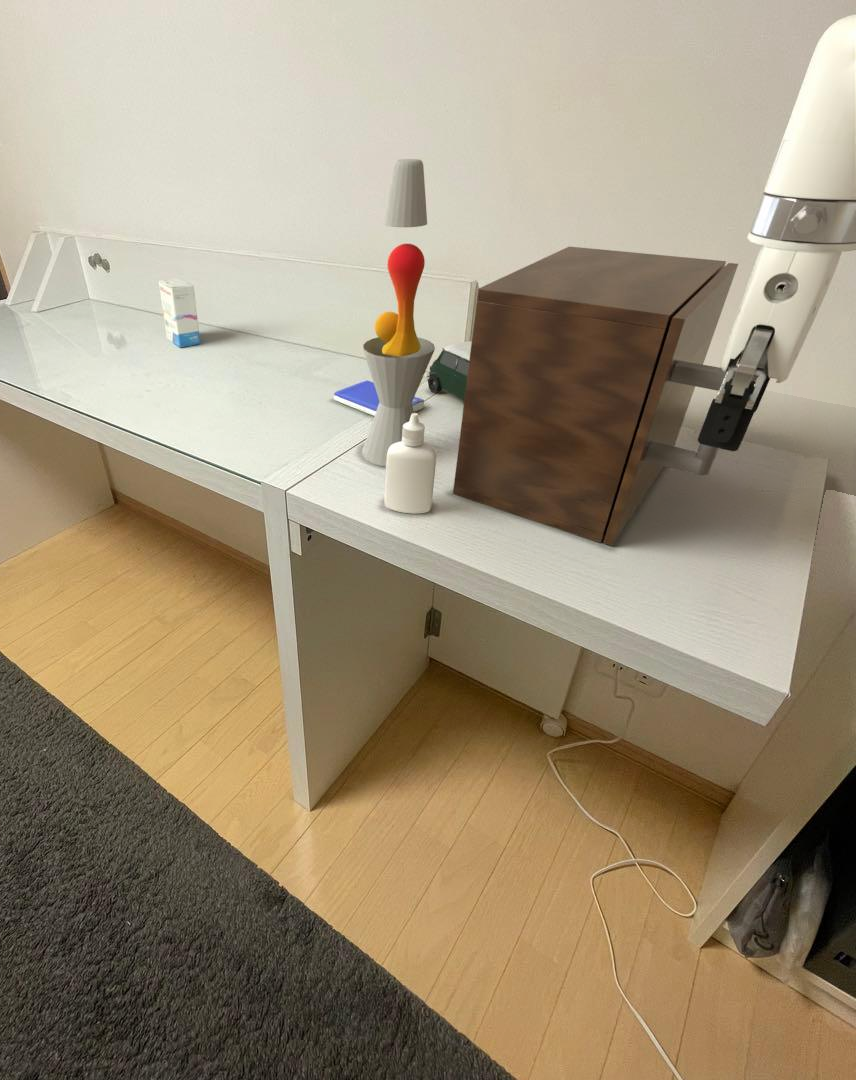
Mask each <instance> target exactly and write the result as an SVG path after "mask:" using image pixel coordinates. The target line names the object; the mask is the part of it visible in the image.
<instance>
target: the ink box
mask: <svg viewBox="0 0 856 1080" xmlns="http://www.w3.org/2000/svg"><path fill="white" fill-rule="evenodd" d="M158 287H159V293H160V300H161V308H162V314H163V315H162V316H163V322H164V328H165V335H166V336H165V337H166V339H168V340H169V341H170V342H172V343H173V344H174V345H175V346H177V347H178V348H185V347H190V346H197V345H200V344H201V337H200V328H199V327H200V326H199V319H198V311H197V301H196V293H195V287H194V285H193V284H191V283H189V282H188V281H185V280H184V279H181V278H172V279H169V278H168V279H161V280H158Z"/></svg>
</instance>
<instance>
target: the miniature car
mask: <svg viewBox="0 0 856 1080" xmlns="http://www.w3.org/2000/svg"><path fill="white" fill-rule="evenodd" d="M471 344H472V340H471V341H470V340H469V341H464V342H462V341H461V342H456V343H452V344H450V345H447V346H444V347H442V350H441V352H440V354H439V355H438V357H437V358H436V359H435V360H433V361H432V364H431V365H430V366H429V373H428V374H427V375H426V379H427V384H428V389H429V390H430V392H431V393H438V392H442V391H443V390H444V391H446V392H447V393H449V394H451V395H452V396H455V397H456V398H459V399H461V400H462V401H464V400H465V392H466V384H467V376H468V368H469V360H470V352H471Z"/></svg>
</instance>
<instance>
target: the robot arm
mask: <svg viewBox="0 0 856 1080" xmlns="http://www.w3.org/2000/svg"><path fill="white" fill-rule="evenodd" d="M789 117H790V118H789V120H788V123H787V125H786V128H785V131H784V134H783V137H782V139H781V142H780V145H779V147H778V151H777V153H776V156H775V159H774V161H773V165H772V167H771V169H770V173H769V176H768V178H767V182H766V184H765V187H764V190H763V192H762V195H761V198H760V201H759V204H758V206H757V210H756V212H755V214H754V218H753V221H752V223H751V225H750V229H749V231H748V234H747V237H746V240H747V241H749V243H752V244H754V245H755V244H756V245H759V246H760V249H759V252H758V254H757V256H756V260H755V263H754V264H753V268H752V270H751V273H750V275H749V278H748V282H747V284H746V288H745V290H744V292H743V295H742V298H741V301H740V303H739V306H738V309H737V312H736V315H735V318H734V321H733V324H732V327H731V331H730V332H729V337H728V340H727V343H726V347H725V350H724V353H723V356H722V360H721V363H720V368H721V369H722V370H723V372H724V373H726V376H725V378H724V380H723V383H722V385H721V387H720V390H719V391H718V392H717V393H716V397H715V398H712V400H711V403H710V406H709V407H708V411H707V413H706V415H705V419H704V421H703V424H702V426H701V429H700V432H699V435H698V437H697V442H698V444H699V445H700V444H703V445H708V446H712V447H716V448H718V449H721V450H724V451H730V452H737V451H738V450H739V449H740V447H741V445H742V442H743V440H744V437H745V435H746V432H747V431H748V428H749V426H750V423H751V421H752V419H753V417H754V414H755V413H756V412H757V410H758V409H759V406H760V403H761V401H762V399H763V396H764V394H765V391H766V389H767V388H768V384H769V382H770V380H771V379H774V380H775V379H776V380H775V384H780V383H783V382H785V381H787V379H789V376H790V373H791V372H792V369H793V367H794V366H795V363H796V361H797V359H798V357H799V354H800V352H801V350H802V348H803V346H804V343H805V341H806V339H807V337H808V334H809V333H810V330H811V328H812V326H813V323H814V321H815V319H816V317H817V314H818V312H819V310H820V308H821V305H822V303H823V302H824V299H825V297H826V294H827V292H828V289H829V287H830V285H831V282H832V279H833V277H834V275H835V272H836V269H837V267H838V264H839V262H840V258H841V255H842V253H843V252H853V251H856V13H855V14H851V15H847V16H845V17H843V18H840V19H838V20H836V21H835V22H833V23H832V24H831V25H830V26H829V27H828V28H827V29H826V30H825V31H824V33H823V34H822V36H821V37H820V38H819V40H818V42H817V44H816V46H815V48H814V51H813V54H812V56H811V58H810V61H809V63H808V67H807V69H806V72H805V75H804V78H803V81H802V84H801V87H800V89H799V92H798V94H797V97H796V100H795V103H794V105H793V109H792V112H791V114H790V116H789Z"/></svg>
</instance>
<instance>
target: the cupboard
mask: <svg viewBox="0 0 856 1080" xmlns="http://www.w3.org/2000/svg"><path fill="white" fill-rule="evenodd" d="M726 265H727V261H726V260H718V259H717V260H716V259H706V258H698V257H697V258H696V257H686V256H685V257H684V256H675V255H674V256H672V255H665V254H664V255H663V254H655V253H654V254H653V253H643V252H634V251H622V250H611V249H600V248H590V247H579V246H566V247H565V248H563V249H560V250H559V251H555V252H553V253H552V254H550V255H547V256H546V257H544V258H541V259H539V260H538V261H535V262H533V263H530V264H528V265H526V266H524V267H522V268H519V269H518V270H515V271H513V272H511V273H509V274H507V275H504V276H502V277H500V278H498V279H495V280H494V281H492V282H489V283H487V284H484V285H483V286H481V287H478V289H477V290H478V291H477V295H476V303H475V311H474V321H473V328H472V337H471V338H472V339H471V342H472V344H471V352H470V360H469V368H468V376H467V384H466V392H465V400H463V408H462V417H461V425H460V432H459V440H458V441H459V442H458V450H457V457H456V465H455V473H454V481H453V490H452V494H453V495H456V496H458V497H461V498H464V499H468V500H470V501H472V502H473V501H474V502H476V503H479V504H482V505H485V506H487V507H491V508H495V509H496V510H500V511H503V512H506V513H509V514H512V515H515V516H517V517H521V518H525V519H527V520H530V521H533V522H536V523H539V524H542V525H546V526H548V527H551V528H554V529H557V530H559V531H563V532H565V533H569V534H571V535H574V536H577V537H581V538H583V539H587V540H589V541H593V542H596V543H599V544H601V543H602V542H603V541H604V539H605V535H606V532H607V529H608V526H609V522H610V519H611V516H612V513H613V509H614V506H615V503H616V500H617V496H618V493H619V490H620V487H621V483H622V480H623V477H624V474H625V470H626V467H627V464H628V461H629V457H630V454H631V451H632V448H633V444H634V441H635V438H636V435H637V431H638V428H639V425H640V422H641V418H642V415H643V412H644V409H645V405H646V402H647V399H648V396H649V392H650V389H651V386H652V383H653V379H654V376H655V373H656V370H657V366H658V363H659V360H660V357H661V353H662V350H663V347H664V344H665V340H666V337H667V334H668V331H669V327H670V324H671V321H672V318H673V317H674V316H675V315H676V314H677V313H678V312H679V311H680V310H681V309H682V308H683V307H684V306H685V305H686V304H687V303H688V302H689V301H690V300H691V299H692V298H693V297H694V296H695V295H696V294H697V293H698V292H699V291H700V290H701V289H702V288H703V287H704V286H706V285H707V284H708V283H709V282H710V281H711V280H712V279H713V278H714V277H715V276H716V275H717V274H718V273H719V272H720V271H721V270H722V269H723V268H724V267H725V266H726Z"/></svg>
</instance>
